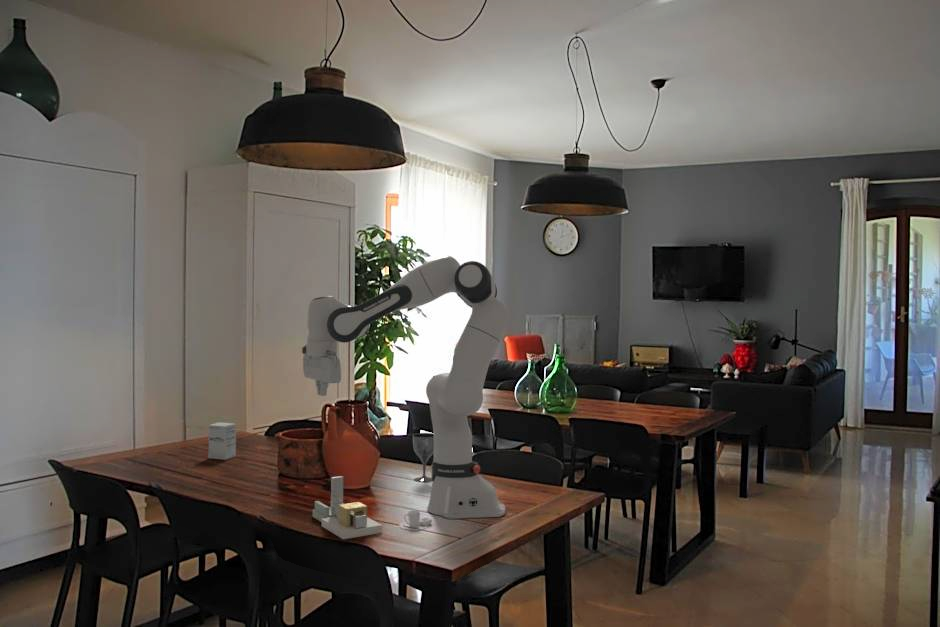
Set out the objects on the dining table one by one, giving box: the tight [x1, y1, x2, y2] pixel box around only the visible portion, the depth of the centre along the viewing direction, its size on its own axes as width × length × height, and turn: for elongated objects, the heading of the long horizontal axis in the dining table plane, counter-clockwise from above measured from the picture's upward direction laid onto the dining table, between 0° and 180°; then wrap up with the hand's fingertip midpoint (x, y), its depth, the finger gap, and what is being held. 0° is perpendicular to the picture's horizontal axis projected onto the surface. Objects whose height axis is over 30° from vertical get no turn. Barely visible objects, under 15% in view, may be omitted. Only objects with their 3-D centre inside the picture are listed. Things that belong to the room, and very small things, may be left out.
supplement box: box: [207, 422, 237, 461], centre depth 297 cm, size 7×7×13 cm
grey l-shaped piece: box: [330, 475, 366, 528], centre depth 210 cm, size 15×3×10 cm, turn 34°
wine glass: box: [412, 432, 434, 483], centre depth 267 cm, size 8×8×15 cm
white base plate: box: [321, 516, 383, 540], centre depth 210 cm, size 14×11×2 cm
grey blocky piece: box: [312, 500, 335, 523], centre depth 220 cm, size 8×7×4 cm
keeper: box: [338, 501, 368, 528], centre depth 208 cm, size 5×6×5 cm
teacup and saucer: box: [398, 510, 433, 531], centre depth 214 cm, size 9×8×4 cm
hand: (321, 395), depth 241 cm, fingers closed
